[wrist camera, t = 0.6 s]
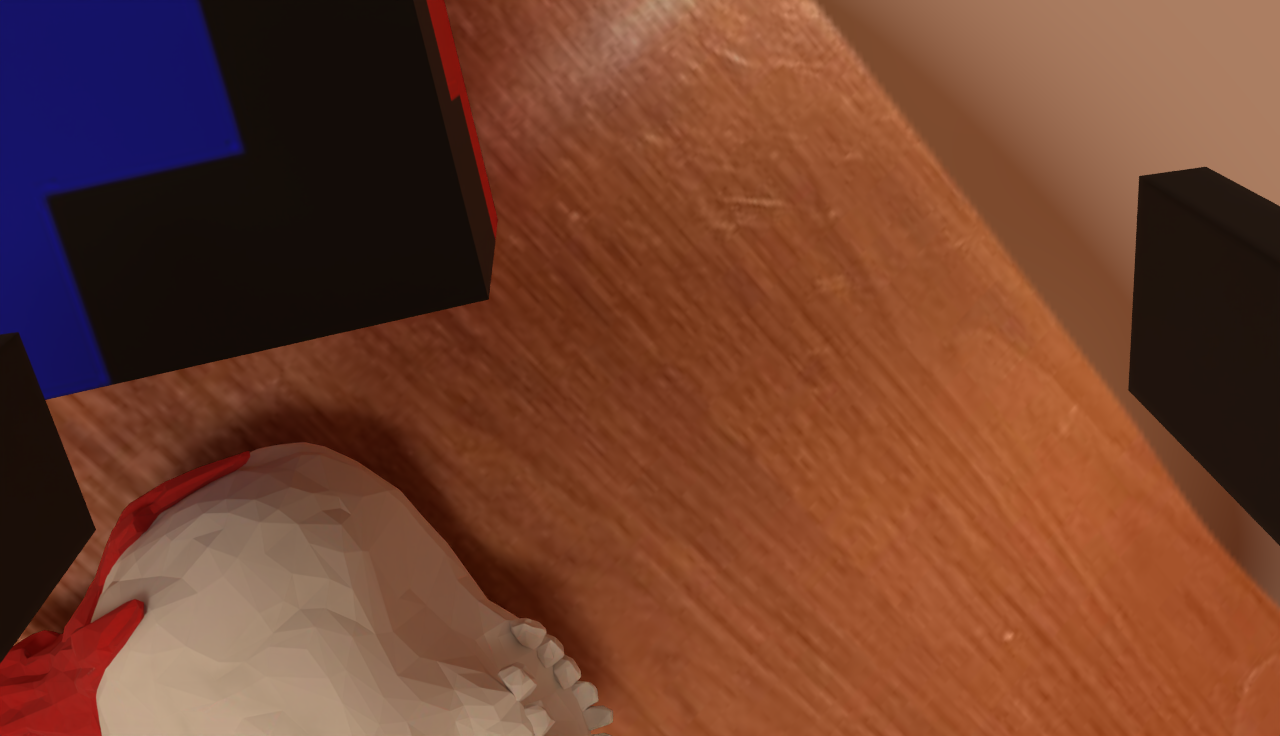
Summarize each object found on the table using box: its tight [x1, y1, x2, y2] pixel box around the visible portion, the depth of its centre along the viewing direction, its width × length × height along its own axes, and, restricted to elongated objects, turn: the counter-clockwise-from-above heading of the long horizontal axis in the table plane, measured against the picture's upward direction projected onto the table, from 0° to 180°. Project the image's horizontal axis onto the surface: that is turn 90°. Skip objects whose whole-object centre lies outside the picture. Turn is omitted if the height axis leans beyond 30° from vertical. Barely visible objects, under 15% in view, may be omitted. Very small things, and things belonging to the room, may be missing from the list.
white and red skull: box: [0, 442, 613, 736], centre depth 28 cm, size 9×11×15 cm
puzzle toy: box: [0, 0, 498, 400], centre depth 24 cm, size 10×10×10 cm
